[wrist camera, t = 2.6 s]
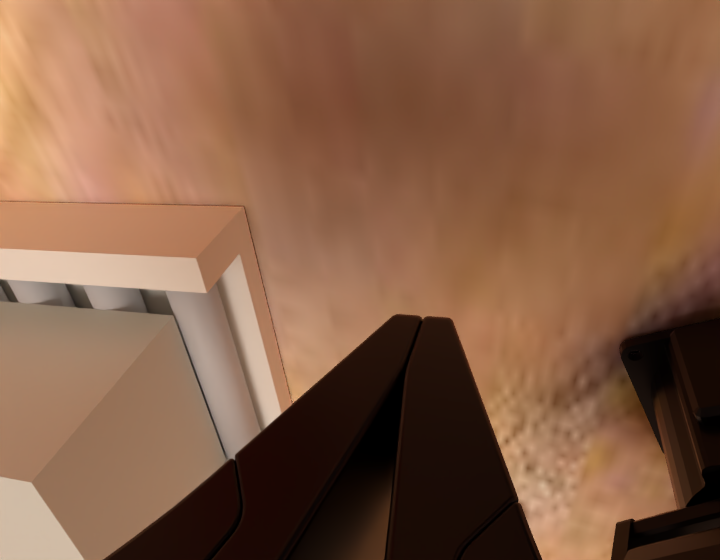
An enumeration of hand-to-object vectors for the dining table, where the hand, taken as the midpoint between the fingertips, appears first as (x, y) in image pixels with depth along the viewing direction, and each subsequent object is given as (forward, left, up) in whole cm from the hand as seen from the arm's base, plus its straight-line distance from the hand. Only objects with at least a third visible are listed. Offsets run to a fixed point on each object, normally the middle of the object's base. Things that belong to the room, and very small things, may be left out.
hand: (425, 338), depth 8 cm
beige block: (-4, +20, -9) cm, 23 cm away
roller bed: (-1, +23, -12) cm, 26 cm away
